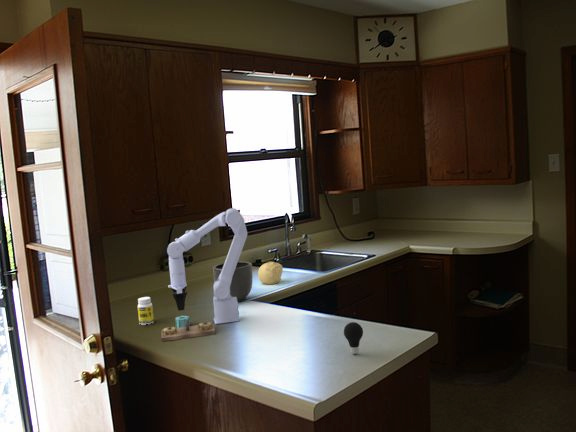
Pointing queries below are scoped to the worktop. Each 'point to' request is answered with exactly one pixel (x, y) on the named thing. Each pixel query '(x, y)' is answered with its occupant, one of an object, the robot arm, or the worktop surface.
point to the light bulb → (353, 336)
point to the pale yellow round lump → (270, 273)
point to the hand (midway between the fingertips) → (181, 307)
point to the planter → (238, 279)
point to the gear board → (187, 331)
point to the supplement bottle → (145, 311)
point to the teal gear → (181, 321)
